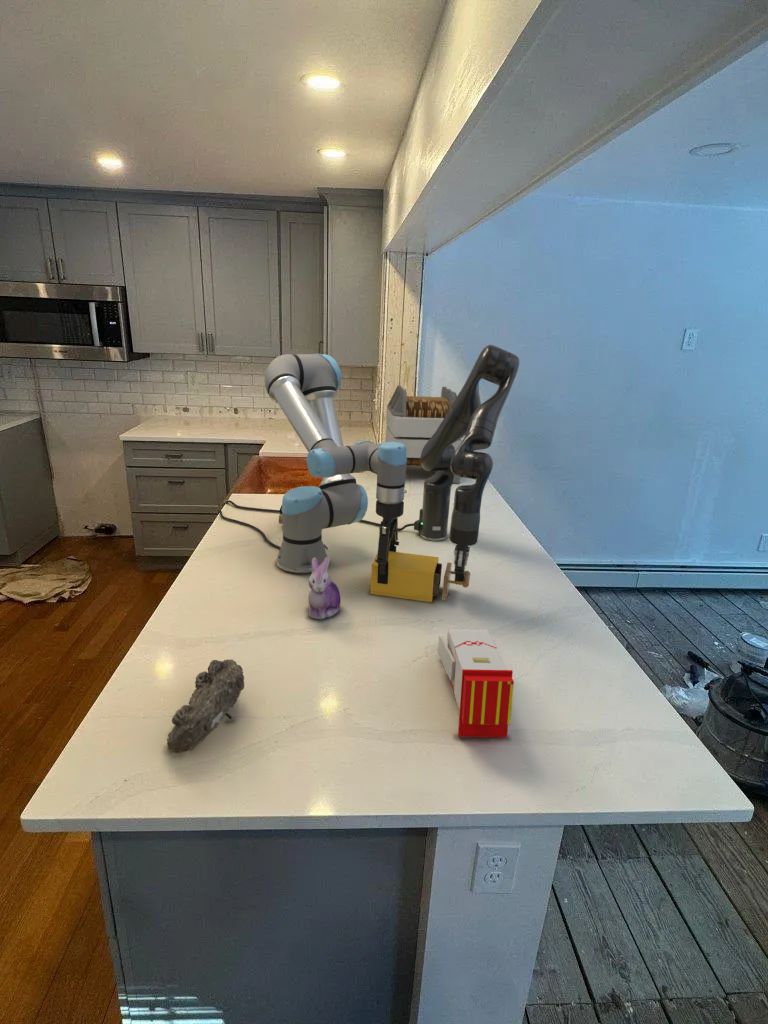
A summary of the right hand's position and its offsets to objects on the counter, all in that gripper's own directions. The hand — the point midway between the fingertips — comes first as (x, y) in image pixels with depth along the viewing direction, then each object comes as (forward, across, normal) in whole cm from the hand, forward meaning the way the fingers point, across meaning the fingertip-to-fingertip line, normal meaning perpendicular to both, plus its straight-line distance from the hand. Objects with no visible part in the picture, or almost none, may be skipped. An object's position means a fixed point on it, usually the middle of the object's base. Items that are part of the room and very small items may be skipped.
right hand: (458, 583), depth 156 cm
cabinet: (+4, 0, +15) cm, 16 cm away
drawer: (+3, 0, +8) cm, 9 cm away
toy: (+4, -41, -7) cm, 42 cm away
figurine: (+5, -18, +33) cm, 38 cm away
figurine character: (+5, +38, +64) cm, 75 cm away
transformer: (+5, +121, +30) cm, 125 cm away
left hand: (0, 0, +20) cm, 20 cm away
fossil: (+5, -62, +41) cm, 74 cm away
